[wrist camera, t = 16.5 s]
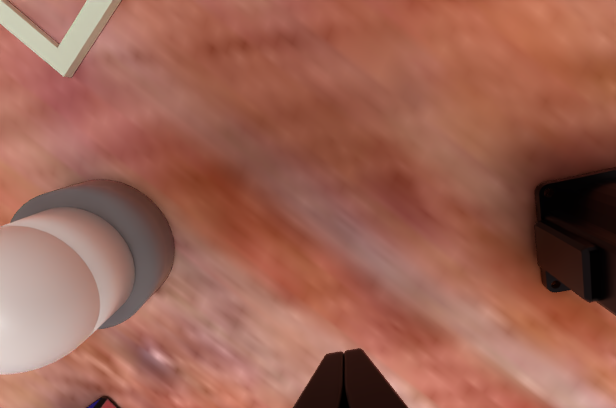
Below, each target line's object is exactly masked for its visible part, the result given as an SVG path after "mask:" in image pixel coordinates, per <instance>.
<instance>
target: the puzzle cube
mask: <svg viewBox="0 0 616 408" xmlns="http://www.w3.org/2000/svg"><path fill="white" fill-rule="evenodd" d="M87 408H117V407H116V406H115V405H114V404H113V403H112V402H111V401H110V400H109V399H108V398H100V399H99V400H97V401H96V402H94V403H93V404H91V405H90V406H89V407H87Z"/></svg>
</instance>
